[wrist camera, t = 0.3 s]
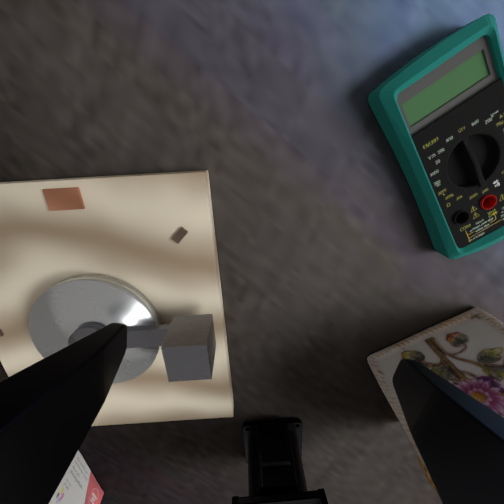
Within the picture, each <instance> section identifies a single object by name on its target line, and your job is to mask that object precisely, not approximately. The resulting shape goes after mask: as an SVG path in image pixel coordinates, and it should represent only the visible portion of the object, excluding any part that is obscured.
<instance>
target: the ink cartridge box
mask: <svg viewBox="0 0 504 504" xmlns="http://www.w3.org/2000/svg"><path fill="white" fill-rule="evenodd" d="M103 494H104V492H103V491H102V489H101V487H100V485H99V484H98V482H97V481H96V479H95V477H94V475H93V474H92V472H91V470H90V469H89V467H88V465H87V464H86V462H85V460H84V458H83V457H82V455H81V453H80V452H79V450H78V451H77V453H76V455H75V457H74V459H73V460H72V462H71V464H70V466H69V468H68V469H67V471H66V473H65V475H64V477H63V479H62V480H61V482H60V484H59V486H58V488H57V489H56V491H55V493H54V495H53V497H52V499H51V500H50V502H49V504H100V502H101V499H102V497H103Z"/></svg>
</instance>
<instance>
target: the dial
mask: <svg viewBox="0 0 504 504" xmlns="http://www.w3.org/2000/svg"><path fill="white" fill-rule="evenodd" d="M110 323H123V324H126V326H127V349H126V352H125V355H124V357H123V360H122V362H121V364H120V367H119V369H118V372H117V374H116V376H115V379H114V381H113V383H112V384H115V383H121V382H126V381H129V380H131V379H134V378H136V377H138V376H139V375H141V374H142V373H144V372H145V371H146V370H147V369H148V368H149V367H150V366H151V365H152V364H153V362H154V360H155V358H156V356H157V354H158V351H159V349H160V346H162V347H161V350H162V354H163V359H164V363H165V367H166V372H167V376H168V381H169V382H176V381H191V380H206V379H212V373H213V366H214V358H215V351H216V338H215V330H214V323H213V315H212V314H203V315H187V316H174V317H173V320H172V322H171V324H164V325H162V321H161V318H160V315H159V313H158V311H157V310H156V308H155V306H154V305H153V304H152V302H151V301H150V300H149V299H148V298H147V297H146V296H145V295H144V294H143V293H142V292H140V291H139V290H138V289H136V288H135V287H133V286H131V285H130V284H128V283H126V282H124V281H121V280H119V279H116V278H113V277H109V276H104V275H97V274H84V275H77V276H73V277H69V278H67V279H64V280H62V281H60V282H59V283H57V284H55V285H54V286H53V287H51V288H50V289H49V290H47V291H46V292H45V293H43V294H42V295H41V296H40V297H39V298H38V299H37V300H36V302H35V303H34V305H33V307H32V309H31V312H30V314H29V332H30V336H31V339H32V341H33V343H34V345H35V347H36V349H37V350H38V352H39V353H40V354H41V355H42V357H43V358H46V357H48V356H50V355H51V354H53V353H55V352H57V351H59V350H61V349H63V348H65V347H67V346H68V345H70V344H72V343H74V342H76V341H78V340H80V339H82V338H84V337H86V336H87V335H89V334H91V333H93V332H95V331H97V330H99V329H101V328H103V327H104V326H106V325H108V324H110Z"/></svg>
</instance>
